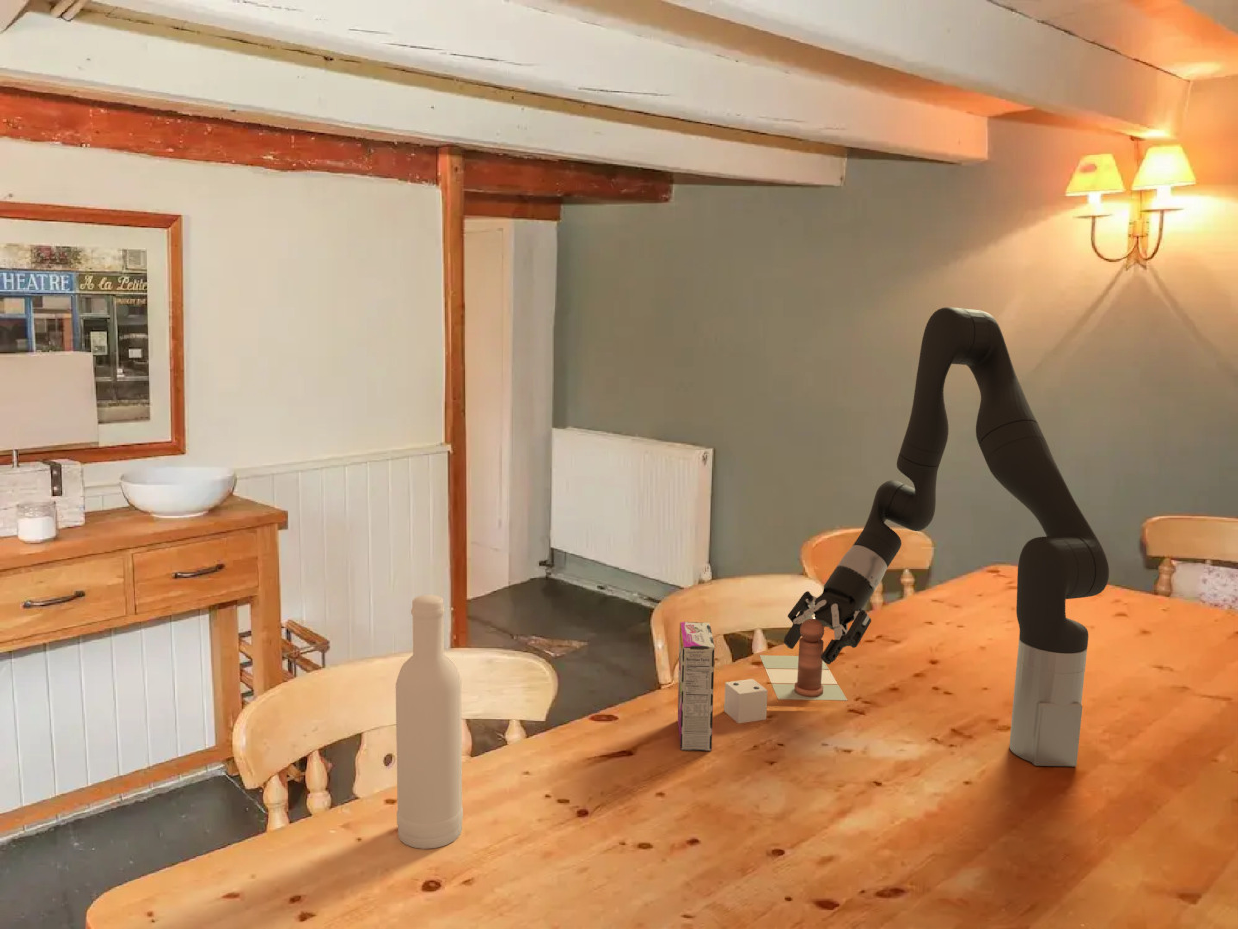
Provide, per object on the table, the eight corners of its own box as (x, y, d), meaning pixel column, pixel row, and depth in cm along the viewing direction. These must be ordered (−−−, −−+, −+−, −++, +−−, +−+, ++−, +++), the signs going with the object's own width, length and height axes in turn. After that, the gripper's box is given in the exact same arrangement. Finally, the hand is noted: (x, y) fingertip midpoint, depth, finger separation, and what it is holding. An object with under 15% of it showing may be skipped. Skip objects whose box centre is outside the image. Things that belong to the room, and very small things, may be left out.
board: (852, 705, 163) (852, 702, 163) (774, 704, 163) (774, 700, 163) (824, 658, 185) (824, 655, 184) (755, 657, 184) (755, 653, 184)
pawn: (825, 697, 164) (830, 624, 162) (797, 696, 164) (801, 623, 162) (819, 686, 169) (823, 615, 167) (792, 686, 169) (795, 614, 167)
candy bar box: (675, 720, 156) (678, 620, 153) (707, 721, 156) (711, 621, 153) (678, 751, 145) (682, 645, 142) (712, 752, 145) (716, 646, 142)
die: (766, 720, 157) (767, 689, 156) (738, 724, 155) (739, 693, 154) (751, 707, 161) (752, 678, 161) (724, 711, 160) (725, 682, 159)
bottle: (434, 809, 127) (432, 585, 122) (476, 831, 122) (475, 598, 117) (383, 834, 121) (379, 599, 116) (425, 858, 116) (422, 613, 111)
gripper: (815, 556, 173) (765, 629, 168) (879, 574, 162) (827, 654, 157) (834, 580, 177) (785, 653, 172) (898, 600, 166) (848, 679, 161)
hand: (805, 653), depth 165 cm, fingers open, 8 cm apart
